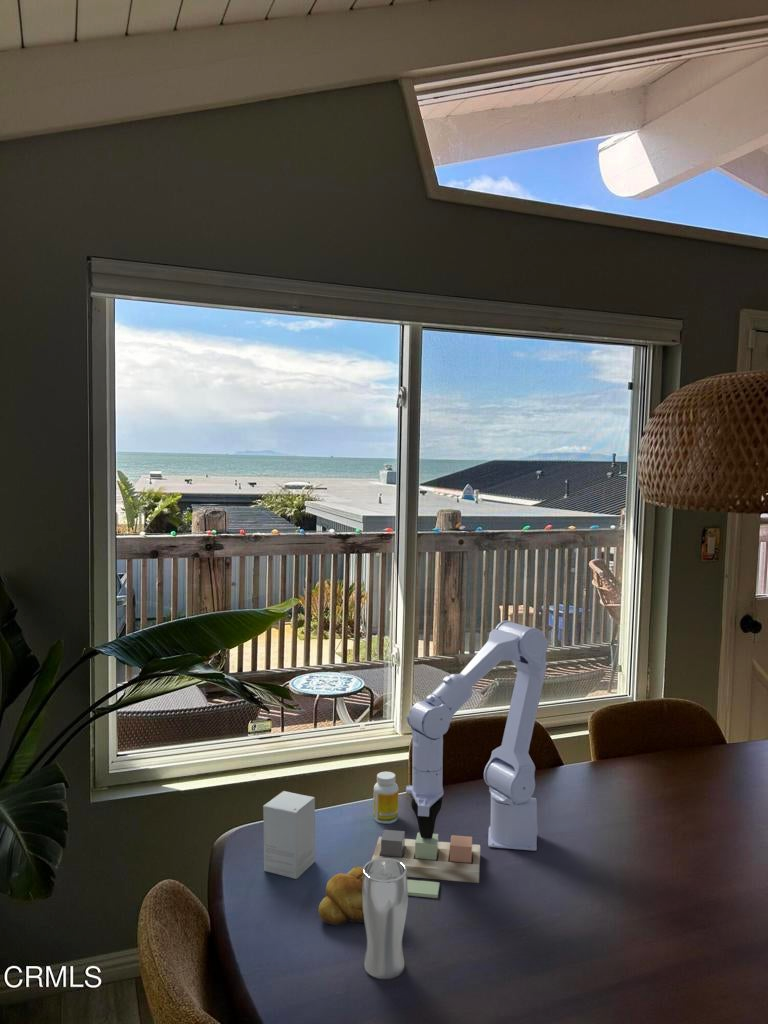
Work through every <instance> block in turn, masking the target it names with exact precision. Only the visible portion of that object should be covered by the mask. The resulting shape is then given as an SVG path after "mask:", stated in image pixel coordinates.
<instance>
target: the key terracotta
mask: <svg viewBox="0 0 768 1024" xmlns="http://www.w3.org/2000/svg"><path fill="white" fill-rule="evenodd" d="M472 844H473V836H466V835H465V836H464V835H454V834H452V835H451V836H450V860H449V862H455V863H467V864H472V861H471V860H472Z"/></svg>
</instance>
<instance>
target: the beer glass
mask: <svg viewBox="0 0 768 1024" xmlns="http://www.w3.org/2000/svg"><path fill="white" fill-rule="evenodd" d="M362 867H363V879H362V912H363V918H364V922H363V923H364V929H365V936H366V951H365V954H364V955H365V956H364V963H363V966H364V971H365V972H366V973H367V974H368V975H369V976H370V977H372V978H373V979H374V978H375V979H378V980H391V979H394V978H397V977H398V976H400V975H401V974H402V973H403V971H404V970H405V958H404V952H403V935H404V929H405V926H406V925H405V924H406V918H407V913H408V901H409V896H408V885H407V879H408V877H407V869H406V866H405V865H404V864H403V863H402V862H400V861H398V860H396V859H391V858H378V859H374V860H372V859H371V860H369V861H367V862H366V863H364V866H362Z"/></svg>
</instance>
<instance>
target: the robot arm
mask: <svg viewBox="0 0 768 1024" xmlns="http://www.w3.org/2000/svg"><path fill="white" fill-rule="evenodd" d="M548 646H549V640H548V639H547V638H546V636H545V634H544V632H543V631H542V630H541V629H539V628H537V627H531V626H530V627H529V626H527V625H523V624H520V623H517V622H514V621H511V620H502V621H500V622H499V623H498V624H497V625H496V626H495V628H494V629H492V630H491V631H489V635H488V640H487V642H486V643H485V644H484V645H483V646H482V647H481V648H480V650H479V651H478V652H477V653H476V654H475V655H474V657H473V658H472V659H471V660H470V661H469V662H468V663H467V664H466V666H465V667H464V668H463V669H462V671H460V673H450V675H449V676H448V675H446V676H445V677H444V678H443V679H442V683H440V684H439V685H438V686H437V688H436V689H434V691H433V692H432V693H430V694H428V695H427V696H426V697H425V700H421V701H417V702H416V703H415V704H413V705H412V706H411V708H410V710H409V712H408V715H406V716H405V717H406V722H407V725H408V726H409V728H410V729H411V736H412V762H411V763H412V773H411V774H412V776H411V777H412V779H411V780H412V781H411V785H407V786H406V787H405V793H407V794H411V796H412V799H411V804H410V805H411V808H412V810H413V812H414V815H415V817H416V821H417V824H418V825H417V826H418V831H419V833H420V835H421V838H430V839H431V838H432V836H433V834H434V831H435V826H436V820H437V818H438V814H439V812H440V810H441V808H442V804H443V800H444V799H443V795H444V788H443V774H444V773H443V769H444V768H443V756H444V750H443V749H444V735H445V734H447V732H448V730H449V728H450V724H451V721H452V720H453V719H454V718H453V717H454V715H455V714H456V713H457V712H458V711H459V710H460V709H461V708H462V707H463V705H465V704H466V702H468V701H469V699H471V697H473V687H474V686H475V685H476V684H477V683H478V682H479V681H480V680H482V679H483V678H484V677H485V676H486V675H487V674H488V673H490V672H491V671H492V670H493V669H494V668H495V667H496V666H497V665H499V663H501V662H509V661H510V662H512V664H513V665H514V666H515V668H516V669H517V671H516V672H517V673H516V677H515V680H514V685H513V690H512V691H513V692H512V696H511V699H510V705H509V709H508V714H507V717H506V722H505V728H504V732H503V736H502V740H501V741H502V742H501V745H500V746H498V747H496V748H495V749H493V750H492V751H491V755H490V758H489V760H488V762H487V763H486V765H485V767H484V769H483V770H484V771H483V780H484V782H485V784H486V785H487V786H488V789H489V790H488V791H489V793H490V825H489V826H488V834H487V835H488V838H487V839H488V840H487V844H488V845H487V846H488V847H489V848H495V849H496V848H498V849H508V850H510V849H511V850H512V849H513V850H524V851H532V852H533V851H535V852H536V851H537V841H538V840H537V839H538V835H539V826H538V803H537V798H536V797H532V796H533V795H534V793H535V789H536V780H535V771H536V766H535V763H534V760H532V758H531V755H530V754H529V751H530V745H531V741H532V737H533V733H534V727H535V723H536V718H537V715H538V714H537V713H538V708H539V704H540V699H541V695H542V690H543V685H544V681H545V676H546V671H547V658H546V656H547V651H548Z"/></svg>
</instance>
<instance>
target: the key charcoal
mask: <svg viewBox="0 0 768 1024" xmlns="http://www.w3.org/2000/svg"><path fill="white" fill-rule="evenodd" d="M405 832H406V831H405V830H394V829H393V830H392V829H390V830H389V829H383V833H382V835H381V837H382V839H381V855H382V856H386V857H397V858H403V856H402V855H403V851H404V847H405V839H406V838H405V837H406V835H405V834H406V833H405Z"/></svg>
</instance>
